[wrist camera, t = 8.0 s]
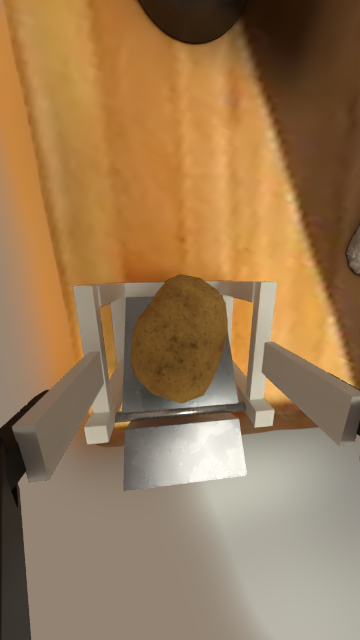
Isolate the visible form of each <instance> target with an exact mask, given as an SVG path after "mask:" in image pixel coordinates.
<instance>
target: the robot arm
mask: <svg viewBox="0 0 360 640" xmlns="http://www.w3.org/2000/svg"><path fill="white" fill-rule="evenodd" d="M139 1H140V3H141V5H142V6H143V8H144V9H145V11H146V12H147V14H148V15H149V16H150V17H151V19H152V20H153V21H154V22H155V23H156V24H157V25H158V26H159V27H160V28H161V29H163V30H164V31H165V32H166V33H168V34H169V35H171V36H173V37H175V38H177V39H180V40H182V41H186V42H192V43H201V42H206V41H210V40H213V39H215V38H217V37H219V36H220V35H222V34H223V33H225V32H226V31H227V30H228V29H229V28H230V27H231V26H232V25H233V24H234V23H235V21H236V20H237V19H238V17H239V16H240V14H241V13H242V11H243V9H244V7H245V5H246V3H247V0H139ZM261 372H262V373H263V374H264V375H265V376H266V377H267V378H268V379H269V380H270V381H271V382H272V383H273V384H274V385H275V386H276V387H277V388H278V389H280V390H281V391H282V392H283V393H284V394H285V395H286V396H287V397H288V398H289V399H290V400H291V401H292V402H293V403H294V404H295V405H296V406H297V407H299V408H300V409H301V410H302V411H303V412H304V413H305V414H306V415H307V416H308V417H309V418H310V419H311V420H312V421H313V422H314V423H315V424H316V425H318V426H319V427H320V428H321V429H322V430H323V431H324V432H325V433H326V434H327V435H328V436H329V437H330V438H331V439H332V440H333V441H334V442H335V443H337V444H338V445H339V446H345V445H354V442H355V438H356V435H357V434H358V435H359V436H360V390H359V389H357V388H355V387H354V386H352V385H350V384H348V383H346V382H345V381H343V380H340V379H339V378H338V377H336V376H334V375H332V374H330V373H328V372H326V371H324V370H322V369H320V368H319V367H317V366H315V365H313V364H312V363H310V362H308V361H306V360H305V359H303V358H301V357H299V356H297V355H296V354H294V353H292V352H290V351H289V350H287V349H285V348H283V347H282V346H280V345H278V344H276V343H275V342H265V344H264V353H263V362H262V371H261ZM103 384H104V379H103V372H102V365H101V357H100V351H94V352H88V353H87V354H86V355H85V356H84V357H83V358H82V359H81V360H80V361H79V362H78V363H77V364H76V365H75V366H74V367H73V368H72V369H71V370H70V371H69V372H68V373H67V374H66V375H65V376H64V377H63V378H62V379H61V380H60V381H59V382H57V383H56V384H55V385H54V387H52V388H51V389H50V390H45V391H43V392H42V393H40V394H38V395H37V396H35V397H34V398H33V399H32V400H31V401H30V402H29V403H28V404H27V405H25V406H24V407H23V408H22V409H21V410H20V412H18V413H17V414H16V415H14V416H13V417H12V418H11V419H10V420H9V421H8V422H7V423H6V424H5V425H3V426H2V427H1V428H0V640H31V632H30V618H29V606H28V594H27V580H26V567H25V554H24V543H23V528H22V515H21V503H20V490H19V486H18V481H19V480H20V479H21V477H22V476H23V474H24V473H25V472H26V474H27V478H28V481H29V482H38V481H47V480H49V479H50V477H51V475H52V474H53V472H54V471H55V469H56V467H57V465H58V464H59V462H60V460H61V458H62V456H63V455H64V453H65V451H66V449H67V448H68V446H69V444H70V442H71V441H72V439H73V437H74V435H75V434H76V432H77V430H78V428H79V427H80V425H81V423H82V421H83V420H84V418H85V416H86V414H87V413H88V411H89V409H90V407H91V406H92V404H93V402H94V400H95V399H96V397H97V395H98V393H99V392H100V390H101V388H102V386H103Z"/></svg>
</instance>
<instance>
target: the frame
mask: <svg viewBox="0 0 360 640" xmlns="http://www.w3.org/2000/svg"><path fill="white" fill-rule="evenodd" d="M205 282H207V283H208V284H210V285H211V286H212V287H214V288H215V289H217V290H218V292H219V293H220V295H223V299H224V301H225V302H226V312H227V319H228V335H229V342H230V344H231V327H232V310H233V297H234V298H238V299H242V300H246V301H250V302H254V306H253V317H252V329H251V340H250V351H249V363H248V374H247V377H246V376H245V375H244V373H243V372H242V371H241V370H240V369H239V368H238V366H237V365H236V364H235V363H234V362H233V361H232V362H233V369H234V376H235V383H236V390H237V396H238V401H243V402H244V403H245V406H246V410H245V413H246V414H247V416H248V418H249V419H250V421H251V422H252V424H253V426H254V427H264V426H272V425H273V418H274V409H273V407H272V406H271V405H270V404H269V403H268V402H267V400H266V399H265V398H264V389H265V381H266V376H265V375H264V374H263V373H262V372H261V371H262V362H263V353H264V344H265V342H270V338H271V330H272V321H273V313H274V304H275V296H276V287H277V282H256V281H205ZM164 283H165V282H144V283H107V284H93V285H79V286H73V292H74V298H75V304H76V310H77V316H78V322H79V328H80V334H81V340H82V346H83V352H84V356H85V355H86V354H87V353H88V352H94V351H100V357H101V365H102V372H103V379H104V384H103V386H102V388H101V390H100V392H99V393H98V395H97V397H96V399H95V400H94V402H93V404H92V407H93V412H92V414H91V416H90V417H89V419H88V421H87V423H86V425H85V427H84V429H85V434H86V440H87V444H95V443H105V442H109V439H110V436H111V433H112V430H113V428H114V425H115V414H116V412H119V410H120V407H121V404H122V401H123V372H124V340H125V308H126V297H154V296H155V294H156V293H157V291H158V290H159V289H160V288H161V286H162V285H163V284H164ZM109 303H110V306H111V315H112V323H113V332H114V341H115V349H116V358H117V367H116V369H115V371H114V373H113V374H112V376H111V378H110V380H109V376H108V369H107V361H106V354H105V346H104V338H103V331H102V323H101V316H100V308H99V307H102V306H104V305H106V304H109Z"/></svg>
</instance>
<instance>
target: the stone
mask: <svg viewBox="0 0 360 640" xmlns="http://www.w3.org/2000/svg"><path fill="white" fill-rule="evenodd" d="M346 255H347V258H348V260H349V265H348V266H349V267H351V268H352V269H353V271H354V273H355V274H360V225H359V226H358V228H357V229H356V232H355V234H354V236H353V237H352V240H351V242H350V244H349V246H348V249H347V252H346Z"/></svg>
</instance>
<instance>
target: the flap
mask: <svg viewBox="0 0 360 640" xmlns="http://www.w3.org/2000/svg"><path fill="white" fill-rule="evenodd" d="M221 296H222V298H223V295H221ZM153 298H154V297H126V308H125V340H124V372H123V404H122V412H116V414H115V423H116V422H127V421H131V422H130V423H129V425H128V426H127V428H126V429H125V451H124V491H127V490H135V489H142V488H151V487H159V486H167V485H175V484H182V483H190V482H198V481H206V480H214V479H222V478H229V477H237V476H245V475H247V473H246V466H245V459H244V452H243V445H242V439H241V431H240V424H239V419H238V418H237V417H235V416H234V415H232V414H231V413H229V412H237V411H245V410H246V406H245V403H244V402H243V401H239V402H238V396H237V390H236V383H235V376H234V369H233V362H232V356H231V349H230V342H229V335H228V336H227V339H226V343H225V347H224V350H223V353H222V356H221V359H220V361H219V364H218V367H217V369H216V372H215V375H214V378H213V380H212V382H211V384H210V385H209V387H208V389H207V390H206V392H205V394H204V395H203V396H201V397H198V398H196V399H193V400H190V401H188V402H185V403H183V404H181V403H178V402H175V401H172V400H169V399H166V398H164V397H161V396H158V395H155V394H152V393H150V392H149V390H148V389H147V388H146V387H145V386H144V385H143V384H142V383H141V382H140V381H139V380H138V378H137V377H136V376H135V375H134V373H133V369H132V364H131V360H130V356H131V346H132V337H133V328H134V326H135V324H136V322H137V320H138V318H139V316H140V315H141V314H142V312H143V311H144V310H145V309H146V308H147V306H148V305H149V304H150V302H151V301H152V299H153Z"/></svg>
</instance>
